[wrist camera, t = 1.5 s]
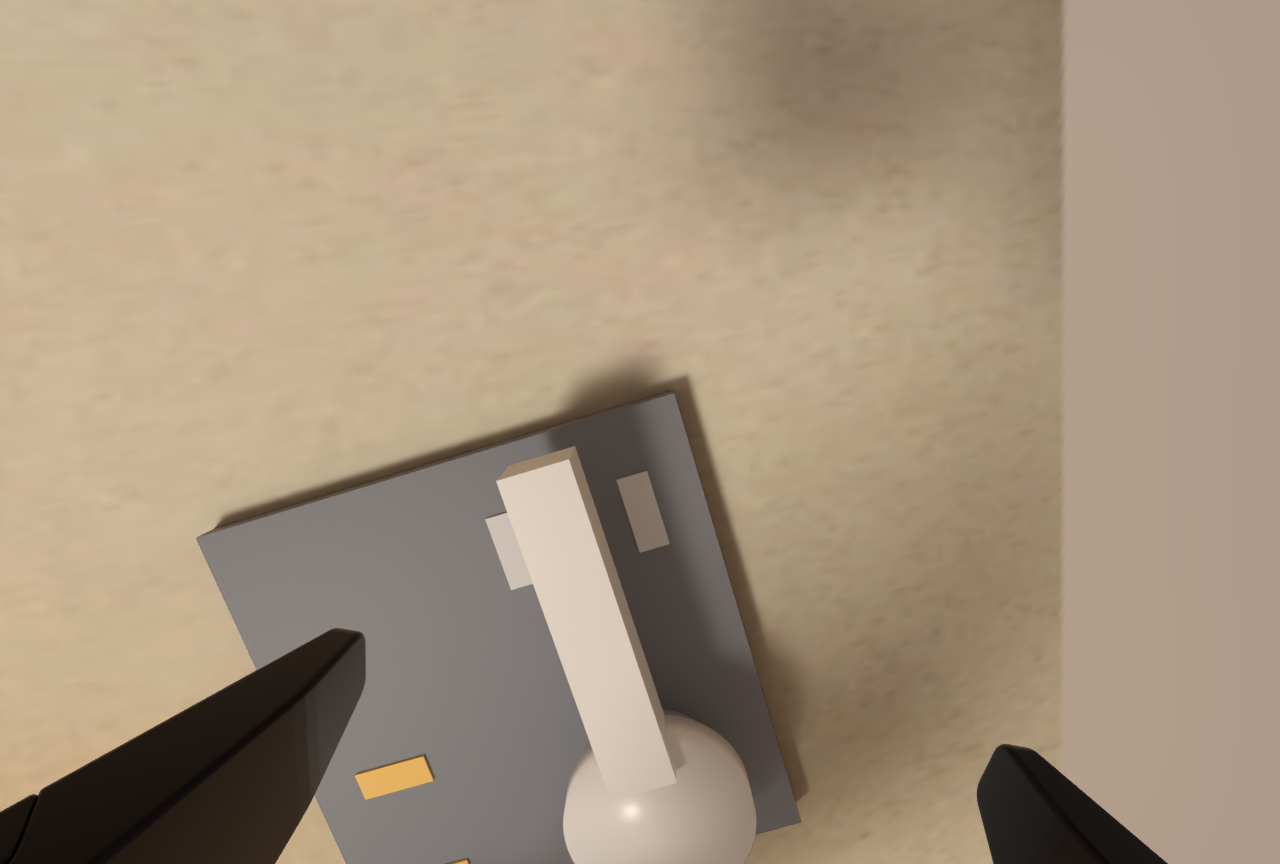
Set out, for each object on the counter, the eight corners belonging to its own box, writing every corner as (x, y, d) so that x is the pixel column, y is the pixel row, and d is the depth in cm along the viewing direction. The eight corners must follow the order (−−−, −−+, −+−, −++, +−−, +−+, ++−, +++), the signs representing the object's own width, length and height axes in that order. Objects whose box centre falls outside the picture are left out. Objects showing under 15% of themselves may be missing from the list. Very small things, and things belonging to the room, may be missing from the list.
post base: (795, 803, 27) (811, 852, 25) (387, 912, 28) (364, 969, 26) (672, 389, 24) (676, 398, 21) (213, 529, 25) (166, 552, 22)
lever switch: (769, 847, 24) (781, 894, 23) (599, 892, 25) (596, 942, 23) (639, 426, 21) (639, 438, 19) (445, 484, 22) (426, 501, 20)
